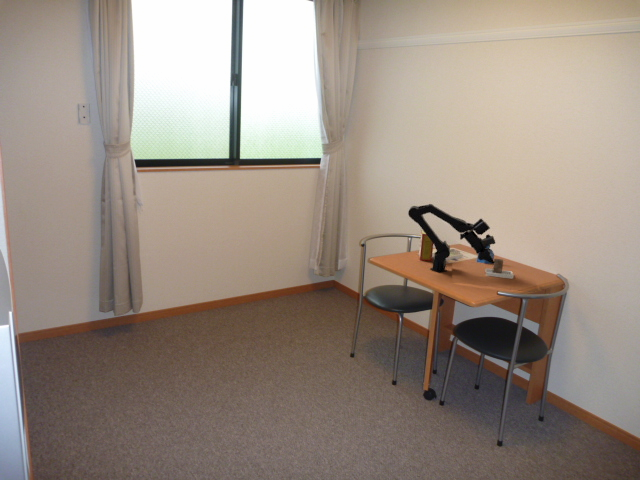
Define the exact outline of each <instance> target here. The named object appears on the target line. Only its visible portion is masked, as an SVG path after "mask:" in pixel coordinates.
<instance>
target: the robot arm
mask: <svg viewBox="0 0 640 480" xmlns="http://www.w3.org/2000/svg"><path fill="white" fill-rule="evenodd" d="M407 214H408V216H409V218H410V219H411V220H413V221H414V222H415V223H416V224H418V226H420V228H421V230H423V231H424V232H425V233H426V235H427V236H428V237H429V239H430V240H431V241H432V242H433V246H434V247H435V250H436V251H435V252H434V256H433V257H434V259H433V258H432V260H433V262H432V267H431V268H429V269H430V270H431V271H434V272H437V273H444V272H447V271H448V270H447V269H446V265H447V258H449V257H450V255H451V249H450V247H451V246H450V245H449V244H448V243H447V241H446V240H444V241H443V240H441V239H440V238H439V236H438V235H437V234H436V232H435V231H434V229H433V228H432V227H431V226H430V225H429V223H428V222H427V221H426V219H425V216H424V215H426V214H431V215H434V216H435V217H437V218H439V219H440V220H442V221H444V222H445V223H447V224H448V225H450V226H451V227H452V228H453V229H454V230H455V231H456V232H458V233H460V234H459V235H460V237H459V239H460V240H461V241H462V240H463V239H465V241H466V242H467V243H468V244H469V246H470V247H471V248H473V250H474V251H475V252H476V254H477V256H478V258H479V260H480V261H481V260H483V259H484V260H486V261H488V262H490V263H492V264H491V265H494V259H492V257H491V255H490V249H491V248H488V249H487V248H486V247H487V246H488V245H490V246H491V245H494V244H496V239H495V238H494V236H493V235H490V234H486V235H485V237H484V238H481V237H479V236H482V235H483V234H484V233H486V232H487V231H488V230H490V229H491V226H489V224H488V223H487V222H486V221H485V220H484V219H483V218H479V219H478V220H477V221H476V222H475V223H470V222H467V221H466V220H464V219H461V218H458V217H455V216H452V215H450V214H449V213H447V212H446V211H443V210H442V209H440V208H438V207H437V206H435V205H434V204H432V203H429V204H425V205H419V206H418V205H412V206H410V208H409V210H408V213H407ZM478 235H479V236H478Z"/></svg>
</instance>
